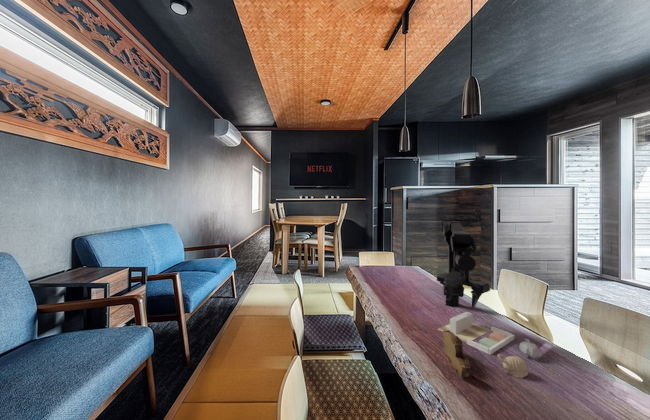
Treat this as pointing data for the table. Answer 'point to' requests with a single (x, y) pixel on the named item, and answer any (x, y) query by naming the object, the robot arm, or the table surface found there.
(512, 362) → the decorative ornament
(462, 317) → the long grey plank
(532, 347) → the garlic
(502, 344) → the tray
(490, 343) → the tile
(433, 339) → the table surface
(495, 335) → the tile
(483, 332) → the board
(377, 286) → the table surface
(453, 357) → the wooden carving
